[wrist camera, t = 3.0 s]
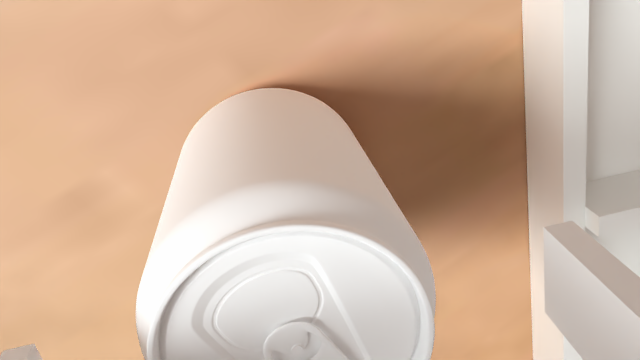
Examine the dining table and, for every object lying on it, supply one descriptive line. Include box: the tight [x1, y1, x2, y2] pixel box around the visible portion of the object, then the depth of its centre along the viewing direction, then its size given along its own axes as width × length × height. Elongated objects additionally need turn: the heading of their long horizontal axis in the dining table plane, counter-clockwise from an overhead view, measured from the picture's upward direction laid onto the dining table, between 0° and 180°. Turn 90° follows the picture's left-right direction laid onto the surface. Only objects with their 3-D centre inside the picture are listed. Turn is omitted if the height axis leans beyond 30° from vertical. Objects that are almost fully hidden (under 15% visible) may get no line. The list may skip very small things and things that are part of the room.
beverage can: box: [136, 88, 436, 360], centre depth 19 cm, size 8×8×12 cm
